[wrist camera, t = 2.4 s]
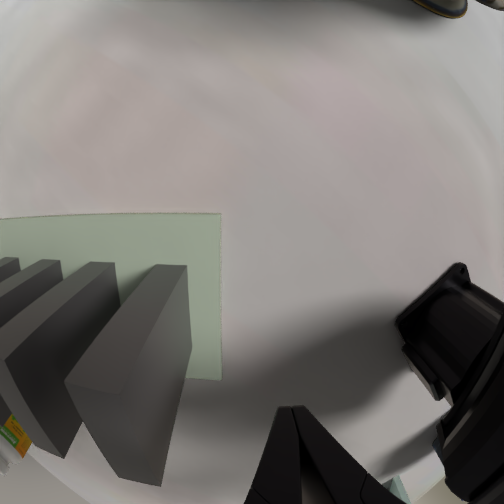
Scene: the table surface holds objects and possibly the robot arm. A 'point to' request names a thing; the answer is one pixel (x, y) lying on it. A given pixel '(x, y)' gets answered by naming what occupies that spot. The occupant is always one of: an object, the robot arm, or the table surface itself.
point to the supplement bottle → (12, 444)
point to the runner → (136, 261)
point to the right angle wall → (399, 489)
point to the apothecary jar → (456, 6)
